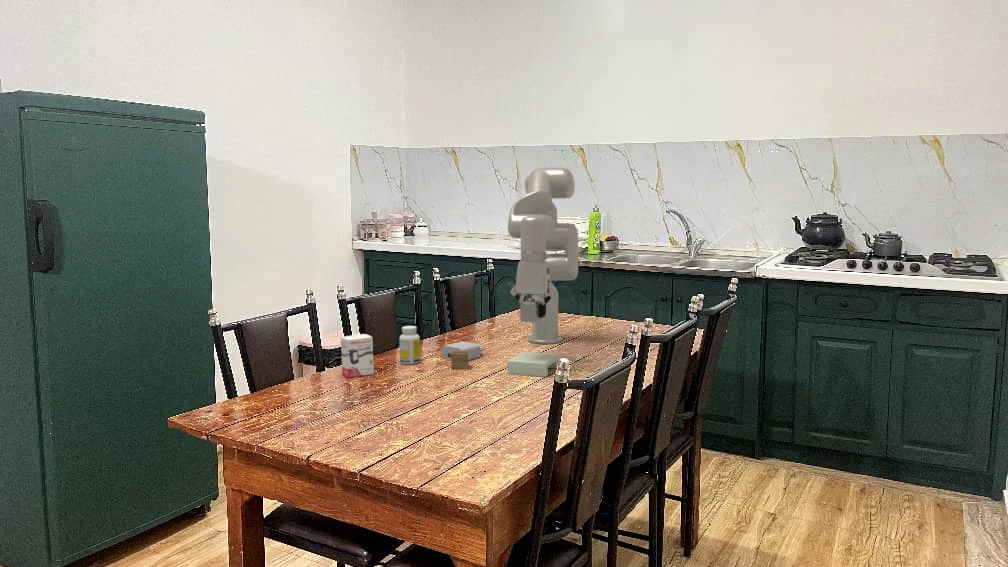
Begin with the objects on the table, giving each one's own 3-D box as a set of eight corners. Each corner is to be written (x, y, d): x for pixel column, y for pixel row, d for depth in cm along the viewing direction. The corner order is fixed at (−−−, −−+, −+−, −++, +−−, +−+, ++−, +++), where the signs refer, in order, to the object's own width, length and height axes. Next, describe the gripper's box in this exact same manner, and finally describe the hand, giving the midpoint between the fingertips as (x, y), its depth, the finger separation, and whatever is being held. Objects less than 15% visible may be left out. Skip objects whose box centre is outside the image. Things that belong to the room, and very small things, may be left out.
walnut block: (452, 365, 255) (452, 350, 254) (468, 365, 255) (468, 350, 254) (451, 369, 250) (451, 354, 249) (467, 369, 250) (467, 353, 249)
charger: (493, 355, 270) (461, 363, 259) (473, 351, 276) (441, 359, 265) (492, 341, 269) (461, 348, 258) (473, 337, 276) (441, 345, 264)
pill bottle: (422, 360, 263) (421, 325, 261) (418, 365, 256) (417, 329, 255) (402, 360, 263) (401, 325, 262) (398, 364, 257) (397, 328, 255)
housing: (530, 316, 251) (530, 295, 250) (545, 317, 249) (545, 296, 248) (520, 321, 243) (520, 299, 242) (536, 322, 241) (536, 300, 240)
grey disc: (560, 359, 264) (560, 356, 264) (575, 360, 262) (575, 357, 262) (557, 362, 259) (557, 359, 259) (572, 363, 258) (572, 360, 258)
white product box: (348, 378, 241) (346, 339, 239) (341, 374, 245) (340, 336, 243) (374, 374, 245) (373, 336, 244) (367, 370, 249) (366, 333, 248)
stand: (522, 363, 257) (522, 351, 256) (558, 366, 253) (558, 354, 252) (507, 373, 244) (507, 361, 243) (545, 377, 240) (545, 364, 239)
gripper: (563, 257, 244) (563, 316, 246) (510, 255, 250) (511, 313, 252) (556, 259, 237) (556, 320, 239) (502, 257, 243) (502, 317, 245)
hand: (533, 315), depth 246 cm, fingers closed on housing, 5 cm apart
